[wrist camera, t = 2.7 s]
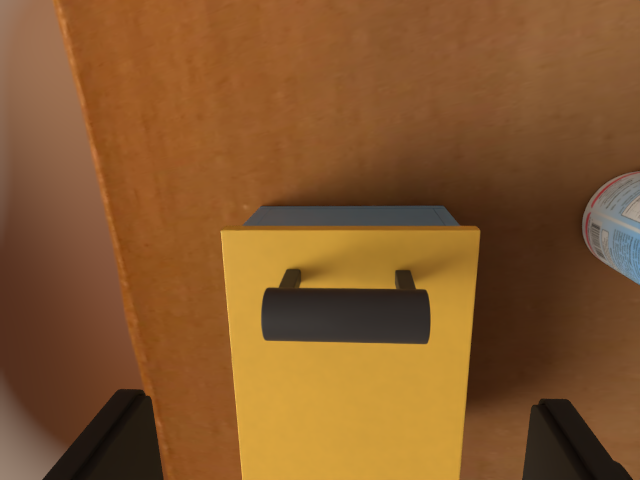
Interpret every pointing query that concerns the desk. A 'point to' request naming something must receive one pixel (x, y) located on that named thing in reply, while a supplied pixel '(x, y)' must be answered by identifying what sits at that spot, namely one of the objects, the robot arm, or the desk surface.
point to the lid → (350, 349)
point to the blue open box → (351, 216)
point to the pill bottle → (616, 224)
